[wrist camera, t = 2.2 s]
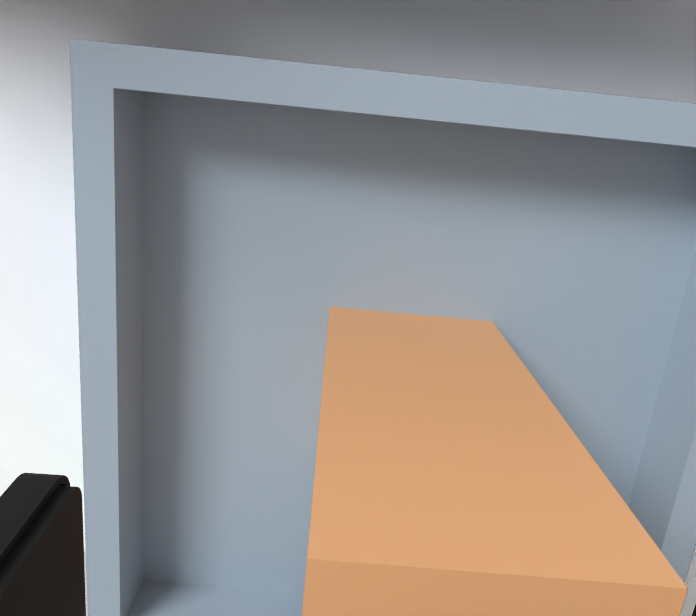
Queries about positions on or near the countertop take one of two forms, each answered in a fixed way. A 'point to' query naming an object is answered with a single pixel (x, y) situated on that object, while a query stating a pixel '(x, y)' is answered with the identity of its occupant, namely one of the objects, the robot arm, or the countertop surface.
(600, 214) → the tray
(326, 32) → the countertop surface
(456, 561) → the plug
